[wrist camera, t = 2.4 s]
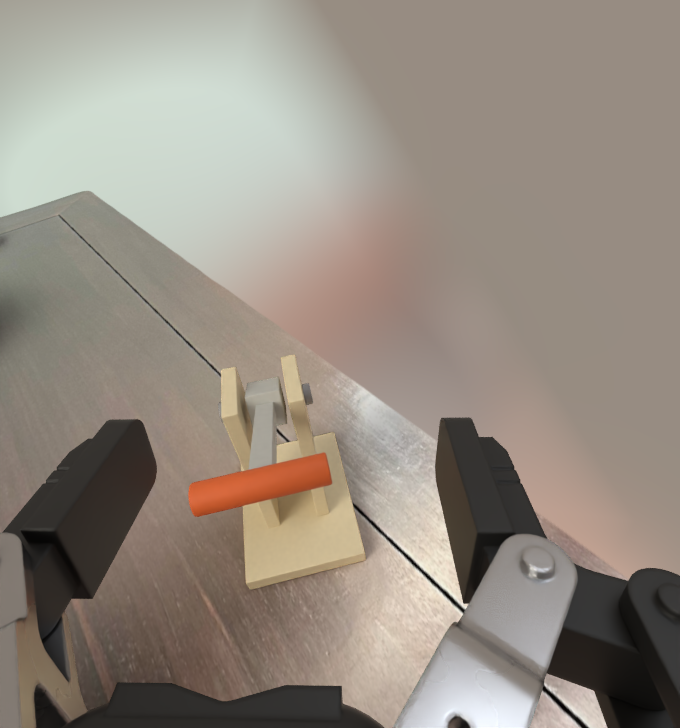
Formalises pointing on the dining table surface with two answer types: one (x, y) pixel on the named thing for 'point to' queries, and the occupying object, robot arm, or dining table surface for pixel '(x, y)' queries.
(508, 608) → the robot arm
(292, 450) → the bracket
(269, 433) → the lever
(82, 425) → the dining table surface
